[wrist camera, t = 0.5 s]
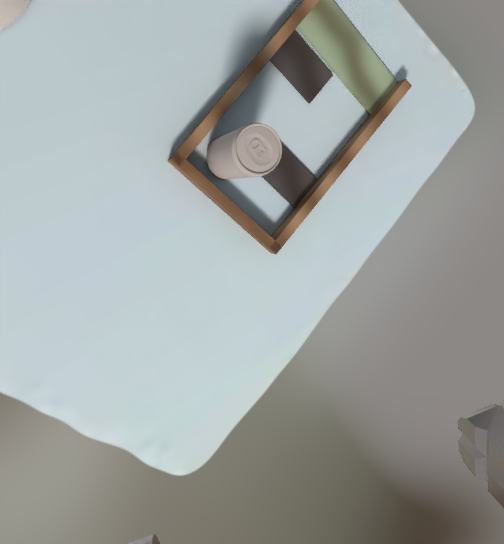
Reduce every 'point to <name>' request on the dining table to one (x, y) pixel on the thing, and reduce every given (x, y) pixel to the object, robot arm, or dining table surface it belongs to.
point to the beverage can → (245, 152)
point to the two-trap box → (308, 82)
